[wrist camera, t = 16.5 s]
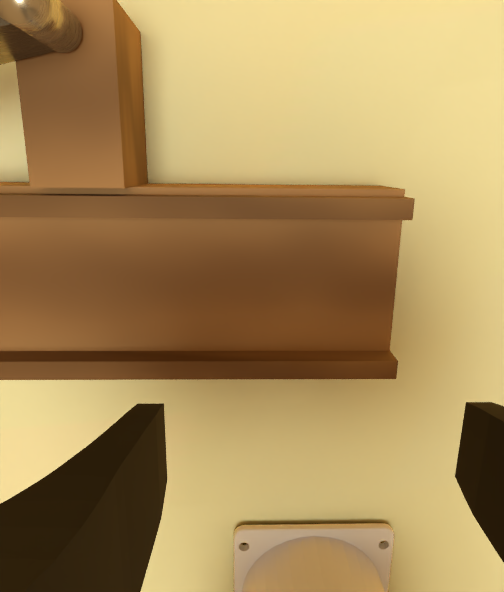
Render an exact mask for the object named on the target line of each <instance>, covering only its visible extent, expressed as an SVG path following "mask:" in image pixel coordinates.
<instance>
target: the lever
mask: <svg viewBox="0 0 504 592" xmlns="http://www.w3.org/2000/svg"><path fill="white" fill-rule="evenodd" d="M81 38H82V27H81V24H80V21H79V19H78V18H77V16H76V15H75V14H74V13H73V12H72V11H71V10H70V9H68V8H67V7H66V6H65V5H64V4H63V3H62V2H61V1H60V0H0V65H1V64H5V63H9V62H13V61H17V60H22V59H26V58H30V57H34V56H39V55H43V54H47V53H51V52H55V51H56V52H60V53H68V52H71V51H73V50H74V49H75V48H76V47H77V46H78V45H79V43H80V41H81Z"/></svg>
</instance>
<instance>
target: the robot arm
mask: <svg viewBox="0 0 504 592" xmlns="http://www.w3.org/2000/svg"><path fill="white" fill-rule="evenodd" d="M455 477H456V479H457V482H458V484H459V486H460V488H461V490H462V493H463V495H464V497H465V499H466V501H467V503H468V505H469V507H470V509H471V511H472V513H473V515H474V517H475V519H476V520H477V522H478V523H479V525H480V527H481V528H482V530H483V531H484V533H485V534H486V536H487V537H488V539H489V541H490V542H491V544H492V545H493V547H494V548H495V550H496V551H497V553H498V554H499V556H500V558H501V559H502V561H503V562H504V407H503V406H501V405H498V404H495V403H492V402H466V406H465V413H464V420H463V427H462V433H461V440H460V447H459V454H458V460H457V467H456V474H455ZM166 483H167V464H166V442H165V420H164V404H137V405H136V406H134V407H133V408H132V409H131V410H130V411H128V412H127V413H126V414H125V415H124V416H123V417H121V418H120V419H119V420H118V421H117V422H116V423H115V424H113V425H112V426H111V427H110V428H109V429H108V430H106V431H105V432H104V433H103V434H102V435H100V436H99V437H98V438H97V439H96V440H94V441H93V442H92V443H91V444H89V445H88V446H87V447H86V448H84V449H83V450H82V451H80V452H79V453H78V454H76V455H75V456H74V457H72V458H71V459H70V460H68V461H67V462H65V463H64V464H63V465H61V466H60V467H59V468H57V469H56V470H55V471H53V472H52V473H50V474H49V475H47V476H46V477H44V478H43V479H41V480H40V481H38V482H37V483H35V484H33V485H32V486H30V487H28V488H27V489H25V490H23V491H22V492H20V493H19V494H17V495H15V496H14V497H12V498H10V499H8V500H7V501H5V502H3V503H1V504H0V592H140V591H141V587H142V584H143V580H144V577H145V573H146V570H147V567H148V563H149V560H150V556H151V553H152V549H153V545H154V542H155V538H156V535H157V531H158V528H159V524H160V520H161V515H162V509H163V503H164V497H165V490H166ZM381 541H385V542H384V543H380V542H381ZM241 543H247V544H246V545H241ZM393 543H394V532H393V530H392V528H391V526H390V525H388V524H384V523H370V524H284V525H241V526H239V527H237V528H236V529H235V531H234V592H388V587H389V578H390V569H391V560H392V552H393Z"/></svg>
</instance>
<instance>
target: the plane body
mask: <svg viewBox="0 0 504 592" xmlns="http://www.w3.org/2000/svg"><path fill="white" fill-rule="evenodd" d="M60 1H61V2H62V3H63V4H64V5H65V6H66V7H67V8H68V9H70V10H71V11H72V12H73V13H74V14H75V15H76V16H77V18H78V19H79V21H80V24H81V27H82V38H81V41H80V43H79V45H78V46H77V47H76V48H75V49H74V50H73V51H71V52H68V53H60V52H56V51H55V52H51V53H47V54H43V55H39V56H34V57H30V58H26V59H22V60H17V61H16V67H17V76H18V85H19V93H20V102H21V111H22V120H23V128H24V137H25V146H26V154H27V163H28V172H29V180H30V182H0V380H115V379H396V375H397V366H398V361H397V359H396V358H395V357H394V356H393V354H392V353H391V352H390V351H389V350H390V340H391V329H392V319H393V308H394V298H395V288H396V277H397V267H398V256H399V246H400V236H401V225H402V220H412V219H413V209H414V199H413V198H408V197H404V194H405V189H398V188H392V187H385V186H351V185H245V184H148V180H147V160H146V139H145V119H144V98H143V78H142V57H141V37H140V31H139V30H138V29H137V27H136V26H135V25H134V23H133V22H132V21H131V19H130V18H129V16H128V15H127V14H126V12H125V11H124V10H123V8H122V7H121V6H120V4H119V3H118V2H117V0H60Z"/></svg>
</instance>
